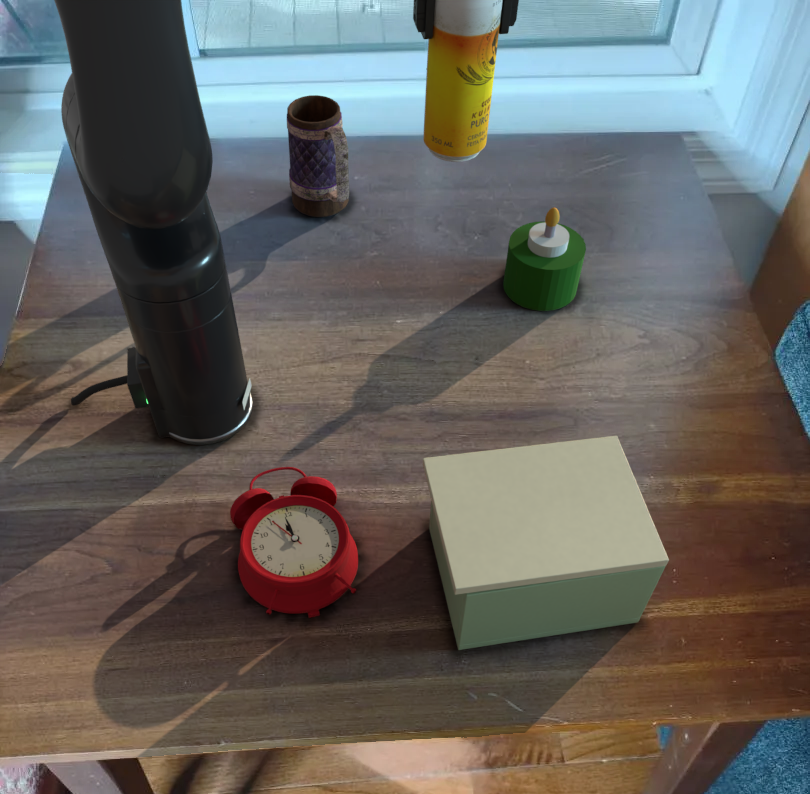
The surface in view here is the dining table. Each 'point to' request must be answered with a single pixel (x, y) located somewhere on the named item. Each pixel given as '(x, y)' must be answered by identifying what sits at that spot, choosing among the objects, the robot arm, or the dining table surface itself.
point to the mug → (317, 156)
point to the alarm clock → (294, 546)
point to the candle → (544, 264)
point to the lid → (540, 514)
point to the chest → (543, 604)
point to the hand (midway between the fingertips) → (463, 31)
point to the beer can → (460, 77)
